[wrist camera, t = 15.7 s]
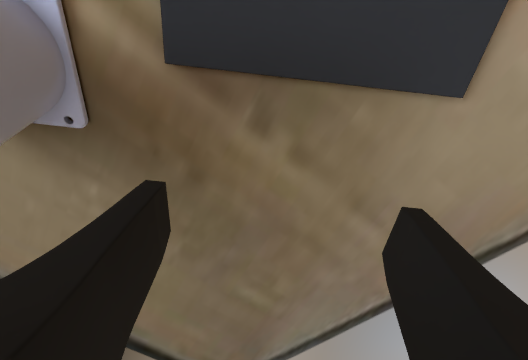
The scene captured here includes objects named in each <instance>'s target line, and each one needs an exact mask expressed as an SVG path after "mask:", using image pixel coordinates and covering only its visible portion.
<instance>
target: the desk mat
mask: <svg viewBox="0 0 528 360" xmlns="http://www.w3.org/2000/svg"><path fill="white" fill-rule="evenodd" d="M507 2H508V0H160V3H161V17H162V30H163V44H164V58H165V63H167V64H175V65H184V66H192V67H201V68H209V69H218V70H226V71H235V72H243V73H252V74H261V75H269V76H278V77H286V78H295V79H303V80H312V81H320V82H329V83H337V84H346V85H355V86H363V87H372V88H380V89H389V90H397V91H406V92H414V93H423V94H431V95H440V96H449V97H457V98H463V96H464V94H465V92H466V90H467V88H468V86H469V83H470V81H471V79H472V77H473V75H474V73H475V71H476V68H477V66H478V64H479V62H480V60H481V58H482V56H483V54H484V51H485V49H486V47H487V45H488V43H489V41H490V39H491V36H492V34H493V32H494V30H495V28H496V26H497V24H498V21H499V19H500V17H501V15H502V13H503V11H504V9H505V7H506V4H507Z"/></svg>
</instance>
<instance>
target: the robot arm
mask: <svg viewBox="0 0 528 360" xmlns="http://www.w3.org/2000/svg"><path fill="white" fill-rule="evenodd" d="M68 116H69V117H71V118H72V120H73V121H71V120H69V119H68ZM31 123H37V124H46V125H55V126H63V127H72V128H83V127H85V126H86V125H87V124H88V117H87V112H86V108H85V103H84V99H83V95H82V90H81V86H80V82H79V77H78V73H77V69H76V64H75V60H74V55H73V51H72V47H71V42H70V38H69V34H68V29H67V25H66V20H65V16H64V12H63V7H62V3H61V0H0V146H1V145H2V144H3V143H5V142H6V141H8V140H9V139H10V138H12V137H13V136H15V135H16V134H17V133H19V132H20V131H21V130H23V129H24V128H26V127H27V126H28V125H30V124H31ZM170 232H171V229H170V219H169V210H168V200H167V191H166V182H159V181H150V180H145V181H144V182H142V183H141V184H140V185H139V186H137V187H136V188H135V189H133V190H132V191H131V192H130V193H128V194H127V195H126V196H125V197H123V198H122V199H121V200H120V201H118V202H117V203H116V204H115V205H113V206H112V207H111V208H110V209H108V210H107V211H106V212H104V213H103V214H102V215H100V216H99V217H98V218H96V219H95V220H94V221H92V222H91V223H90V224H88V225H87V226H86V227H84V228H83V229H81V230H80V231H78V232H77V233H75V234H74V235H73V236H71V237H70V238H68V239H67V240H65V241H64V242H63V243H61V244H60V245H58V246H57V247H55V248H54V249H52V250H50V251H49V252H47V253H46V254H44V255H42V256H41V257H39V258H37V259H36V260H34V261H32V262H31V263H29V264H27V265H26V266H24V267H22V268H20V269H19V270H17V271H15V272H13V273H12V274H10V275H8V276H6V277H4V278H2V279H0V360H121V359H122V356H123V353H124V350H125V347H126V344H127V341H128V339H129V336H130V334H131V331H132V328H133V326H134V324H135V321H136V319H137V317H138V315H139V312H140V310H141V308H142V306H143V303H144V301H145V299H146V296H147V294H148V292H149V290H150V287H151V285H152V283H153V280H154V278H155V276H156V274H157V271H158V269H159V267H160V264H161V262H162V259H163V256H164V253H165V249H166V246H167V242H168V239H169V235H170ZM382 256H383V263H384V270H385V276H386V281H387V286H388V289H389V293H390V296H391V299H392V303H393V306H394V309H395V313H396V316H397V319H398V323H399V326H400V329H401V333H402V336H403V339H404V342H405V346H406V349H407V352H408V356H409V359H410V360H528V305H527V304H526V303H525V302H523V301H522V300H521V299H520V298H519V297H517V296H516V295H515V294H514V293H513V292H512V291H510V290H509V289H508V288H507V287H506V286H505V285H503V284H502V283H501V282H500V281H499V280H498V279H496V278H495V277H494V276H493V275H492V274H491V273H490V272H489V271H487V270H486V269H485V268H484V267H483V266H482V265H481V264H480V263H479V262H478V261H477V260H475V259H474V258H473V257H472V256H471V255H470V254H469V253H468V252H467V251H466V250H465V249H464V248H463V247H462V246H461V245H460V244H459V243H458V242H456V241H455V240H454V239H453V238H452V237H451V236H450V235H449V234H448V233H447V232H446V231H445V230H444V229H443V228H442V227H441V226H440V225H439V224H438V223H437V222H436V221H435V220H434V219H433V218H432V217H430V216H429V215H428V214H427V213H426V212H425V211H424V210H423V209H417V208H408V207H402V208H401V210H400V213H399V215H398V217H397V219H396V222H395V224H394V226H393V229H392V231H391V233H390V236H389V238H388V240H387V243H386V245H385V247H384V250H383V252H382Z"/></svg>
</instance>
